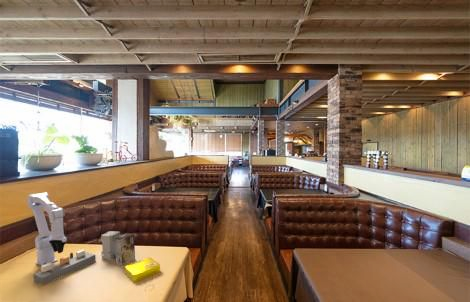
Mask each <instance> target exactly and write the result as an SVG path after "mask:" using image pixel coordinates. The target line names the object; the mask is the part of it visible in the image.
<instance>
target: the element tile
mask: <svg viewBox="0 0 470 302" xmlns="http://www.w3.org/2000/svg"><path fill="white" fill-rule="evenodd" d="M159 273H161V264H160V263H159V262H157V261H156V260H154V259H153V258H152V257H150V256H149V257H145V258H143V259H140V260H138V261H134V262H132V263H131V262H130V263H127V264H125V266H124V274H125V275H126V276H127V278H129V279H130V280H131V282H133V283H138V282H141V281H143V280H146V279H147V278H148V279H149V278H151V277H152V276H154V275H155V276H156V275H157V274H159Z"/></svg>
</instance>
